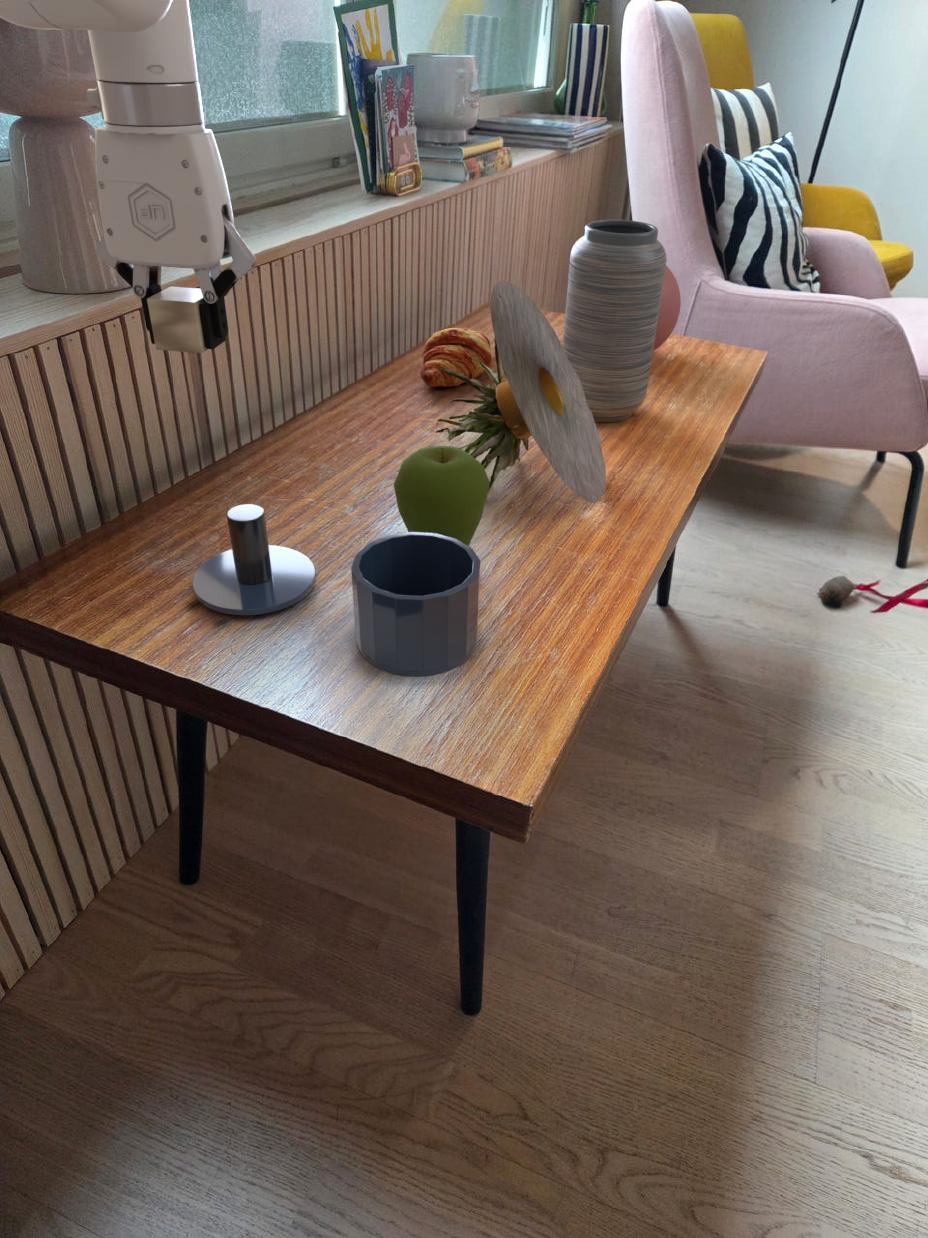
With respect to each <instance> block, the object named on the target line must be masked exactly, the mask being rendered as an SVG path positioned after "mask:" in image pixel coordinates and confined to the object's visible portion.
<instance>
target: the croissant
mask: <svg viewBox="0 0 928 1238" xmlns="http://www.w3.org/2000/svg"><path fill="white" fill-rule="evenodd" d="M473 357H476V358H477V359H478V360H479V361H481V362H482V363H483V364H484V365H486V366H487V367H489V368H490V369H491V366H493V353H492V349H491V339H490V338H489V336H488V335H487V334H484V333H483V332H480V331H478V330H473V329H470V328H468V327H448V328H445V329H441V330H439V331H436V332H434V333H433V334H431V336H430V338H428V340H427V341H426V342H425V344H424V347H423V351H422V365H421V368H420V378H421V379H422V381H423V382H424V384H426V385H427V386H430V387H432V388H434V387H459V386H460V385H461V384H464V383H465V382H464V381H462V380H460V379H459V378H457V377H455V376H452V375H448V374H446V373H445V372H442V371H441V370H440V368H441V369H448V370H452V371H453V372H456V373H458V374H460V375H463V376H465V377H468V378H469V379H474V380H476V379H477V378H478V377H479V376H481V375H483V374H484V373H485V372H487V371H486V370H485V369H484V368H483V367H480V364H478V363H477V361H476V360H475V359H474V358H473Z"/></svg>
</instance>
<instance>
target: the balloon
mask: <svg viewBox="0 0 928 1238" xmlns="http://www.w3.org/2000/svg"><path fill="white" fill-rule="evenodd" d="M680 291H681V290H680V287H679V284H678V281H677V278H676V277H675V274H674V273H673V272H672V270H671V269H670V267H669V266H668V265H667V264H666V268H665V275H664V281H663V288H662V295H661V301H660V308H659V315H658V321H657V328H656V335H655V341H654V348H653V352H654V351H656V350H657V349H659V348H660V347H661V346H662V345H663V344H664V343H665V342H666V341H667V340H668V339H669V338H670V336H671V334H672V333H673V331H674V330H675V327H676V325H677V323H678V320H679V316H680V313H681V302H682V301H681V292H680Z"/></svg>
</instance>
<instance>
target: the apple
mask: <svg viewBox="0 0 928 1238" xmlns="http://www.w3.org/2000/svg"><path fill="white" fill-rule="evenodd" d="M459 448H460V447H456V446H453V445H451V446H450V445H433V446H432V445H431V446H427V447H422V448H419V449H417V450H416V451H415V452H413V453H411V454H410V455H409V456H408V457H407V458H405V459H404V460H403V461H402V464H401V466H400V468H399V470H398V473H397V475H396V478H395V480H394V483H393V489H394V493H395V498H396V504H397V507H398V508H397V509H398V512H399V515H400V517H401V519H402V522H403V523H404V525H405V528H406V530H407V532H424V533H437V534H440V535H444V536H448V537H452V538H455V539H457V540H459V541H461V542H462V543H464V544H466V545H467V546H469V547H470V545H471V543H472V540H473V538H474V535H475V533H476V531H477V528H478V526H479V524H480V523H481V520H482V517H483V513H484V509H485V505H486V502H487V497H488V495H489V494H488V490H489V486H490V480H489V477H488V474H487V470H486V469H485V468H484V467H483V466H482V464H481V462H480V461H479V460H477V458H476V459H475V458H474V457H472V456H471V455H470V454H471V453H469V454H468V453H467V452H465V451H464V450H465V449H459Z"/></svg>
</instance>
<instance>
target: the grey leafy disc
mask: <svg viewBox="0 0 928 1238" xmlns="http://www.w3.org/2000/svg"><path fill="white" fill-rule="evenodd" d="M489 306H490V307H489V308H490V317H491V325H492V331H493V336H494V338H493V341H494V358H495V364H496V365H495V366H496V372H495V371H494V370H493V369H491V367H490V368H489V367H487V366H486V365H484V364H483V363H482V362H481V361H479V360H478V359H477V358H476V357H473V358H474V359H475V360H476V361H477V363H478V364H480V367H483V368H484V369H485V370H486V371H485V372H486V373H487V374H488V377H489V378H490V380H491V381H492V383H493V384H494V385H495V386H493V385H492V384H491V383H489V384H488V385H485V384H484V383H483V382H481V381H480V380H477V379H469V378H468V377H465V376H463V375H460V374H458V373H456V372H453V371H452V370H448V369H441V368H440V370H441V371H442V372H445V373H446V374H448V375H452V376H455V377H457V378H459V379H460V380H462V381H464V383H465V384H467V385H468V386H471V387H472V388H474V389H475V390H476V391H478V392H480V394H481V395H480V394H473V395H472V396H473V397H476V398H478V399H470V398H469V399H467V398H453V399H451V400H449V403H454V402H457V403H459V402H461V403H465V404H475V405H480V406H477V407H475V408H473V411H470V410H469V411H468V413H467V414H461V415H453V413H450V415H449V417H448V419H447V418H445V419H444V418H441V417H440V418H439V419H438V420H436V423H435V425H437V426H438V425H439V423H440V422H443V423H447V424H448V425H453V426H455V427H445V428H441V429H437V430H436V431H435V434H439V433H440V434H441V433H444V432H446V433H447V437H446V439H447V441H448V442H451V441H452V440H453V439H454V438H457V437H459V436H461V435H463V434H464V433H466V432H467V433H475V434H476V433H477V434H480V435H479V436H478V438H476V439H475V440H474V441H472V442H470V443H468V444H466V445H464V446H462V447H458V448H459V449H462V450H464V451H465V452H467V453H468V454H470V455H471V456H472V457H474V458H475V459H476V460H477V458H478V457H480V456H481V455H483V454H484V453H485V452H487V453H486V455H485V456H484V458H483V459H482V460H481V462H480V463H481V464H482V466H483V467H484V468H485V470H486V469H487V468H488V467H489V466H490V464H491V463H492V461H493V460H494V459H495V464H494V466H493V469H492V473H491V476H490V480H489V483H490V486H489V490H488V494H487V495H489V494H490V493H491V492H492V491H493V490H494V483H495V481H496V480H497V478H498V476H499V474H500V473H501V471H504V472H505V471H506V470H507V468H509V467H513V466H514V465H515V464H516V462H517V461H519V462H520V461H521V458H520V456H521V455H520V453H521V452H520V451H521V443H522V444H523V446H524V448H525V450H526V451H529V439H530V438H531V437H532V439H533V441H534V442H535V443H536V444H537V446H538V448H539V449H540V451H541V452H542V453H543V455H544V457H545V458H546V460H547V461H548V463H549V464H550V465H551V467H552V469H553V470H554V472H555V473H557V476H559V478H560V479H561V481H563V482H564V484H565V485H566V486H567V487H568V488H569V489H570V491H572V492H574V493H575V494H576V495H577V496H579V497H580V498H581V499H583V500H585V501H587V502H589V503H597V502H599V501H600V500H601V499H602V497H603V496H604V493H605V489H606V484H607V483H606V482H607V471H606V464H605V459H604V454H603V450H602V444H601V442H602V441H601V438H600V434H599V431H598V428H597V424H596V422H595V421H594V418H593V415H592V413H591V411H590V409H589V407H588V405H587V402H586V398H585V394H584V390H583V387H582V385H581V382H580V380H579V378H578V376H577V374H576V372H575V370H574V369H573V367H572V365H571V364H570V362H569V360H568V358H567V356H566V353H565V351H564V349H563V347H562V345H563V343H562V342H561V340H560V339H559V337H558V335H557V334H556V331H555V330H554V328H553V326H552V325H551V323H550V322H549V320H548V318H547V317H546V316H545V314H544V313H543V312H542V311H541V309H540V308H539V306H537V304H536V303H535V302H534V301H533V300H532V298H530V297H529V295H527V294H526V293H525V292H524V291H523V290H522V289H521V288H520V287H518V286H517V285H515V284H513V283H512V282H510V281H507V280H499V281H498V282H496V283H495V284H494V285H493V287H492V291H491V294H490V305H489ZM457 419H458V421H455V420H457Z"/></svg>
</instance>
